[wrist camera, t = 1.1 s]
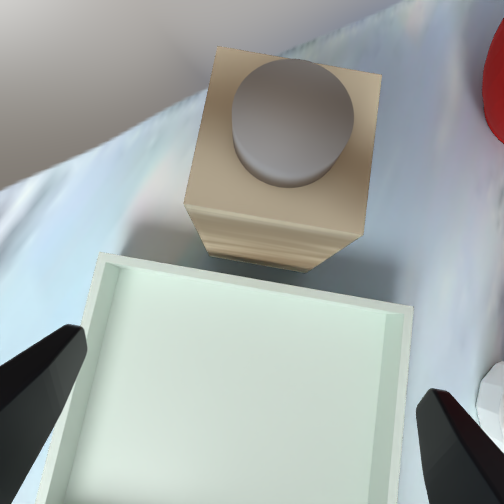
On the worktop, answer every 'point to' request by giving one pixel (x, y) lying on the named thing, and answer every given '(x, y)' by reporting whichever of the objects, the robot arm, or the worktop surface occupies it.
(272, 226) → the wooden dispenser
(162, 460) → the tray
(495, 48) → the ceramic cup
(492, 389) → the white cup
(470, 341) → the worktop surface
